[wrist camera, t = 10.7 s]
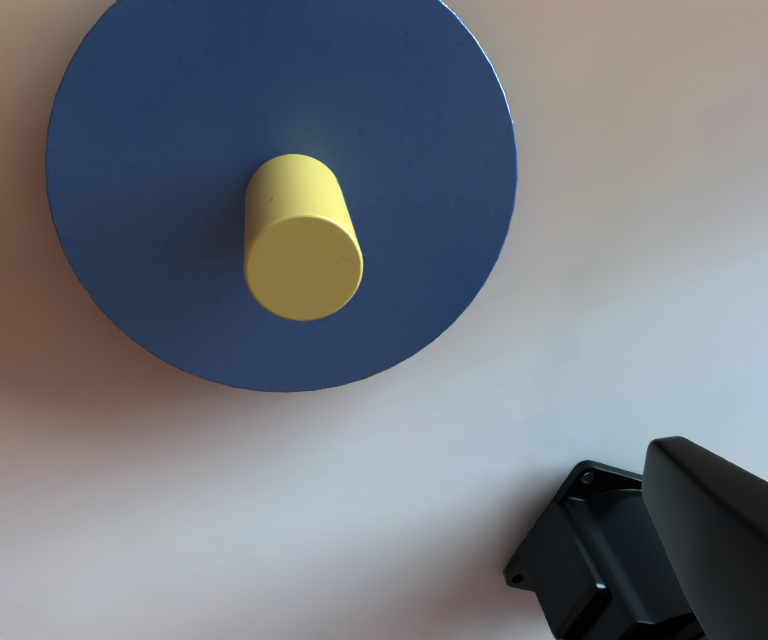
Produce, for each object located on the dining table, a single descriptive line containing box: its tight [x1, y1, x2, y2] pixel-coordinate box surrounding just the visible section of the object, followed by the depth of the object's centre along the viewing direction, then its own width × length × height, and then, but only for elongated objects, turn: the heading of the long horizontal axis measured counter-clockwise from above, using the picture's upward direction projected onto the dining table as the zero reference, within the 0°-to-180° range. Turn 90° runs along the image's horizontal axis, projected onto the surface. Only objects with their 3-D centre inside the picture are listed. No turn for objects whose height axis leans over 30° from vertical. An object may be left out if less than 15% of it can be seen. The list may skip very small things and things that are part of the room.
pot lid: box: [45, 0, 518, 392], centre depth 18 cm, size 13×13×6 cm
